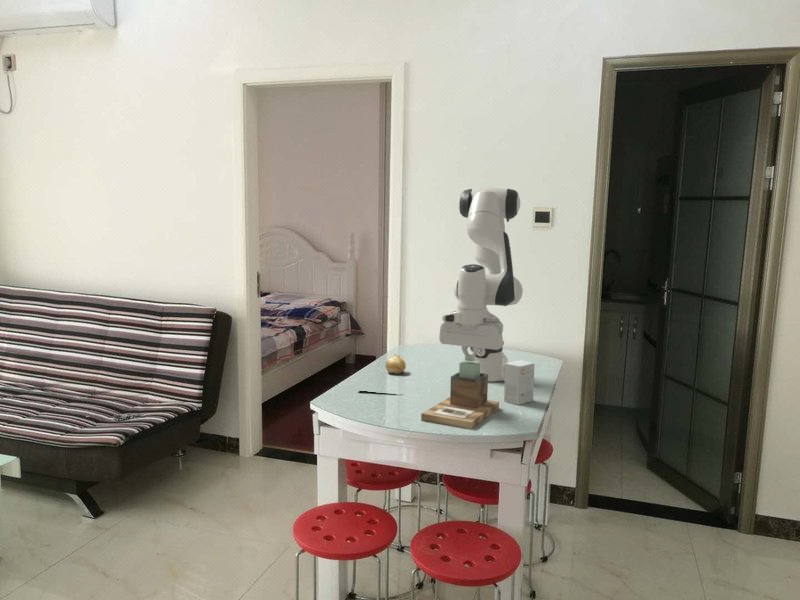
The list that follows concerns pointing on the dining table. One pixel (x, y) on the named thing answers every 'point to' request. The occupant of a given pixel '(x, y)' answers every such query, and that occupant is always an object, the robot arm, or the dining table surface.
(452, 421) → the oak base board
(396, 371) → the onion
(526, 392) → the small box
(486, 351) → the robot arm
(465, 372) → the sage block
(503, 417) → the dining table surface
